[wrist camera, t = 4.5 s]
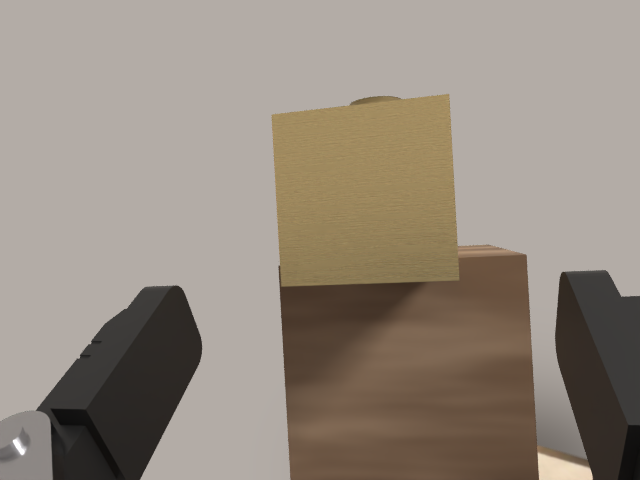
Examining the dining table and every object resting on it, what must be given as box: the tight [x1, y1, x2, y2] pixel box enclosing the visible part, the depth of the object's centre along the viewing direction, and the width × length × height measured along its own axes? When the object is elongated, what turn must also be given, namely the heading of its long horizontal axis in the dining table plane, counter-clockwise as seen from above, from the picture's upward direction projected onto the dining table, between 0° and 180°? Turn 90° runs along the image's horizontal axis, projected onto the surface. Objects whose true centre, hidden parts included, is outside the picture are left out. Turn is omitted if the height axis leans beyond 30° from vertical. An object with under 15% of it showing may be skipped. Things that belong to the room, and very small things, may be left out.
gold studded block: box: [272, 94, 459, 287], centre depth 23 cm, size 24×4×5 cm, turn 167°
